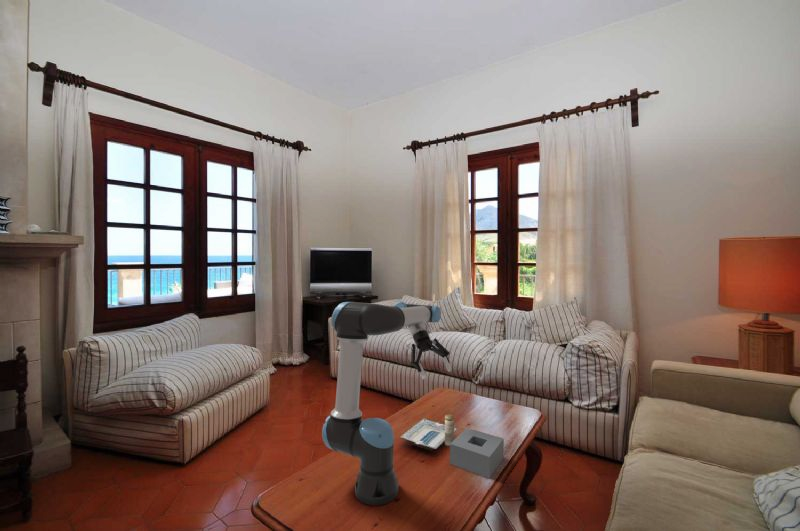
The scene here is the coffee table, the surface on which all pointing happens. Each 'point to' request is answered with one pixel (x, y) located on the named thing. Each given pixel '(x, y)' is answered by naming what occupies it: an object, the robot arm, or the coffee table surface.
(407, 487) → the coffee table surface
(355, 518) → the coffee table surface
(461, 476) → the coffee table surface
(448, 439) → the peg
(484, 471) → the socket block
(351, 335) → the robot arm
